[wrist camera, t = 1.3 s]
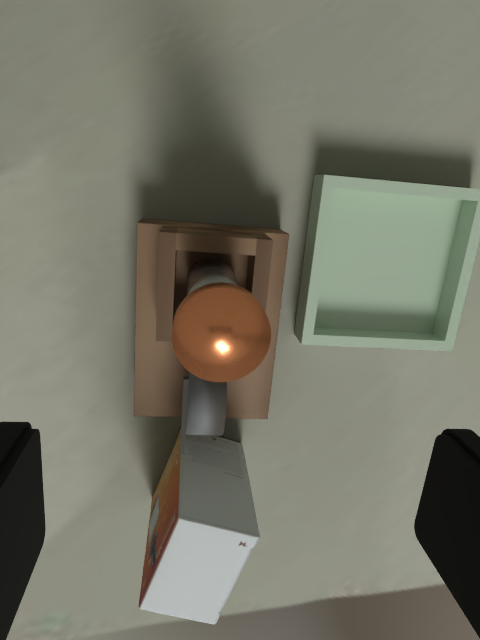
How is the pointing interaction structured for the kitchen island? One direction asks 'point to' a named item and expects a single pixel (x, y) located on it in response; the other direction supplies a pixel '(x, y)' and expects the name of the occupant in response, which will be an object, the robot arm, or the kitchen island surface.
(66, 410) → the kitchen island surface
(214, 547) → the small box
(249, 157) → the kitchen island surface
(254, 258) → the brown wooden stepped holder
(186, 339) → the lock pin
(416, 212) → the tray
